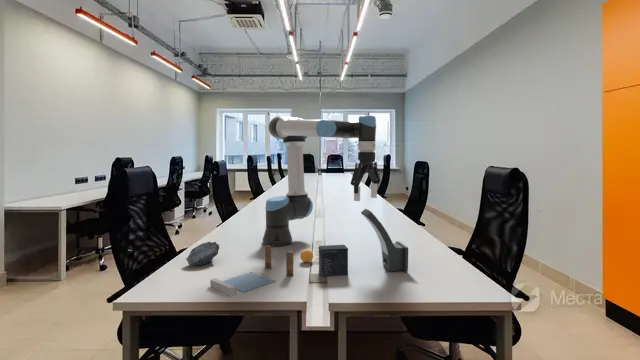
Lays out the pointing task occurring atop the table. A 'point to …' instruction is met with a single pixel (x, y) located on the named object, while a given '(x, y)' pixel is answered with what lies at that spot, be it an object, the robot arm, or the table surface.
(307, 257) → the ball
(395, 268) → the grey curved piece
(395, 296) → the table surface
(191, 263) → the rock
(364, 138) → the robot arm
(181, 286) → the table surface
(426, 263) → the table surface
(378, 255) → the table surface
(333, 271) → the box
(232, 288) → the wall
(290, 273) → the post
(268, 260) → the post
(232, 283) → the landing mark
